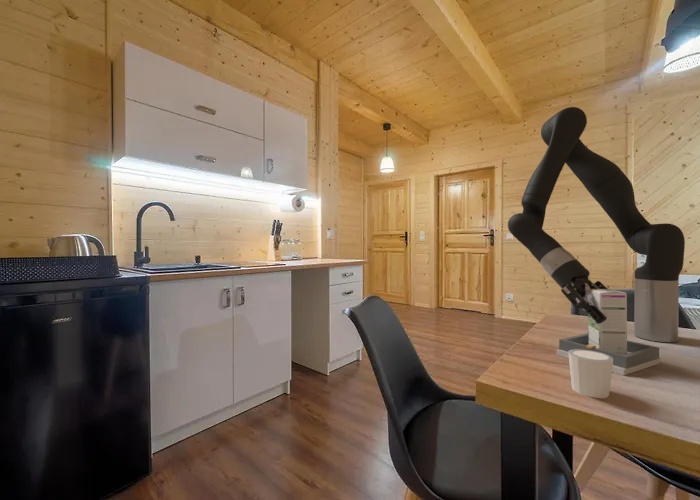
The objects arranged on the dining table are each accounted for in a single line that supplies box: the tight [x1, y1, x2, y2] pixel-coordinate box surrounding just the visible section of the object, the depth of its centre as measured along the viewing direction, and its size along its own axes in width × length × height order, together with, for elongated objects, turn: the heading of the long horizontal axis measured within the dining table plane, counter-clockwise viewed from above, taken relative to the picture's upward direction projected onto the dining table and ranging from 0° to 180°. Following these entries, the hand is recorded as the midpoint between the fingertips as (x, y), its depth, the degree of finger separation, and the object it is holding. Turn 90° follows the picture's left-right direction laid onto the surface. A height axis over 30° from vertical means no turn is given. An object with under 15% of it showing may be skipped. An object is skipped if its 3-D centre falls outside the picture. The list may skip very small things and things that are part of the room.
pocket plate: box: [556, 332, 662, 376], centre depth 76 cm, size 16×14×4 cm
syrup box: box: [587, 288, 628, 354], centre depth 76 cm, size 6×6×14 cm
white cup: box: [568, 349, 613, 399], centre depth 60 cm, size 7×7×7 cm
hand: (613, 319), depth 75 cm, fingers closed on syrup box, 8 cm apart
